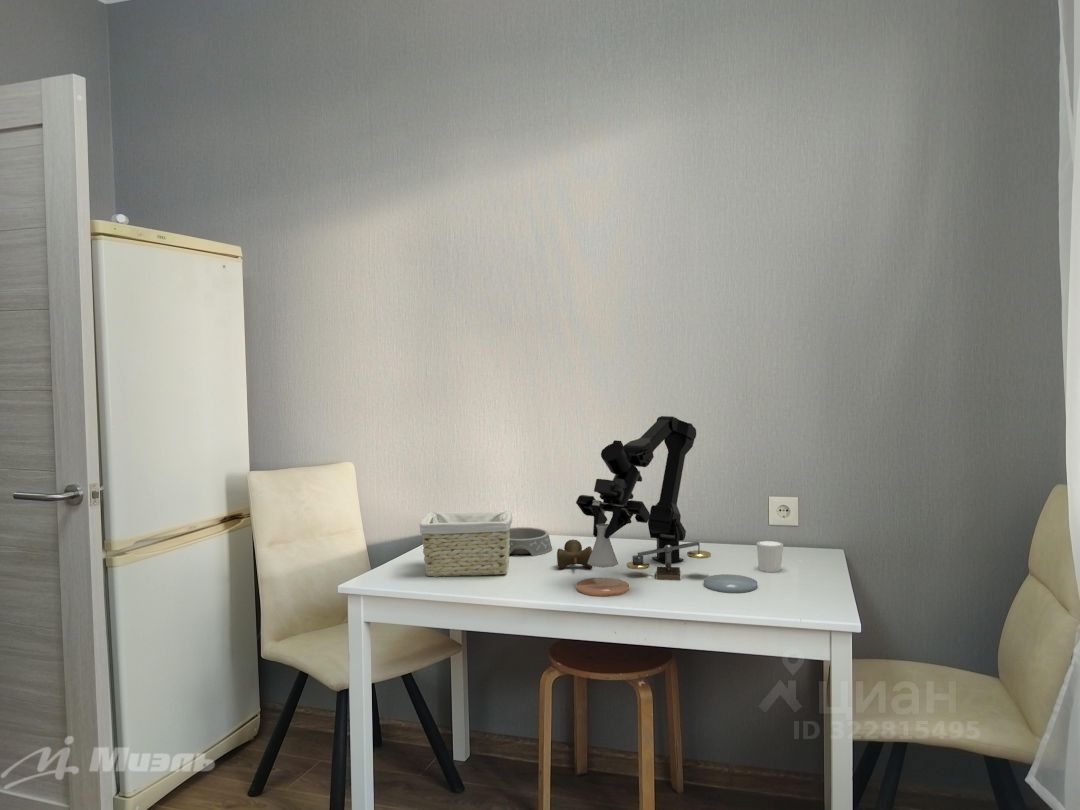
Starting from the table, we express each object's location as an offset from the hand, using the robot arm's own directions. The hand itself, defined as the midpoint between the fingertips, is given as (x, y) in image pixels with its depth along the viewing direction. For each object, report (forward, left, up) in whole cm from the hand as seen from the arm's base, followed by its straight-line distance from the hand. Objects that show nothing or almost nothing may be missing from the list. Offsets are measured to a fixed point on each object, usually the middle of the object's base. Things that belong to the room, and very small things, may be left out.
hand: (600, 536), depth 202 cm
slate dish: (+12, +30, -13) cm, 35 cm away
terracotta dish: (-1, +1, -13) cm, 13 cm away
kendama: (-25, +6, -14) cm, 29 cm away
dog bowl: (-48, +1, -14) cm, 50 cm away
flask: (-1, +1, -7) cm, 8 cm away
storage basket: (-34, -21, -14) cm, 43 cm away
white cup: (+5, +49, -13) cm, 51 cm away
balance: (-3, +22, -13) cm, 26 cm away
